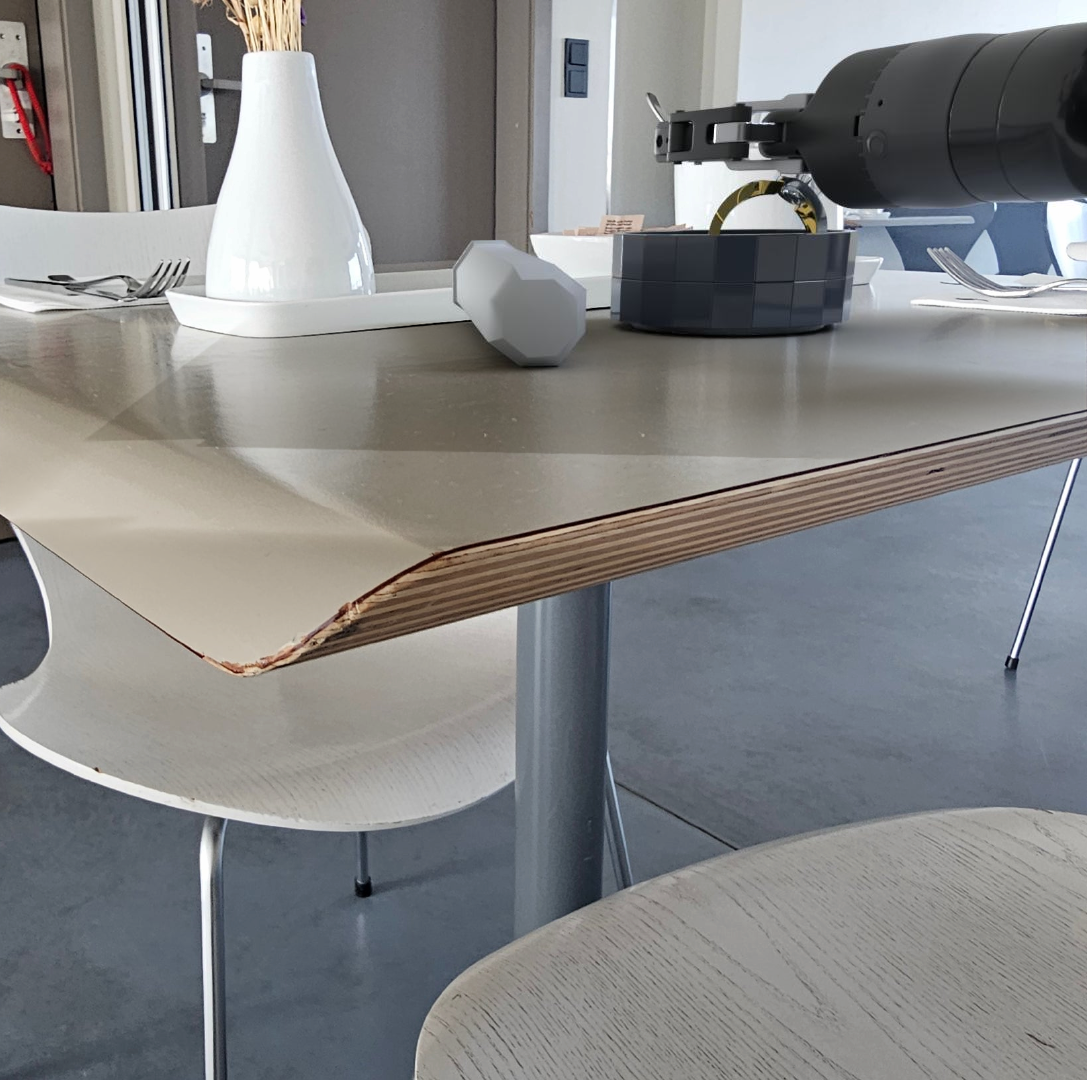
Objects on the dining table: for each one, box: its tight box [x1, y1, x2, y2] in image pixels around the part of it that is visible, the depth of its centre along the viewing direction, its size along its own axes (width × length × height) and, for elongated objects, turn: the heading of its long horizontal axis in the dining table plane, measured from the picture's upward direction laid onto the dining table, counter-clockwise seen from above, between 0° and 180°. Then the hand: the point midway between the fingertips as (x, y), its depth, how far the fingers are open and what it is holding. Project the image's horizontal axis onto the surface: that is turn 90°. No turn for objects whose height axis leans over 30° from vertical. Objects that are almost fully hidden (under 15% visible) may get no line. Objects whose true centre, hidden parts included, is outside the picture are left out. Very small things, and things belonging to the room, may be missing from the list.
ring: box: [708, 170, 828, 235], centre depth 71 cm, size 7×3×8 cm, turn 75°
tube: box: [451, 239, 587, 367], centre depth 65 cm, size 5×5×25 cm
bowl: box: [609, 228, 859, 337], centre depth 71 cm, size 14×14×6 cm
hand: (718, 143), depth 70 cm, fingers open, 8 cm apart
